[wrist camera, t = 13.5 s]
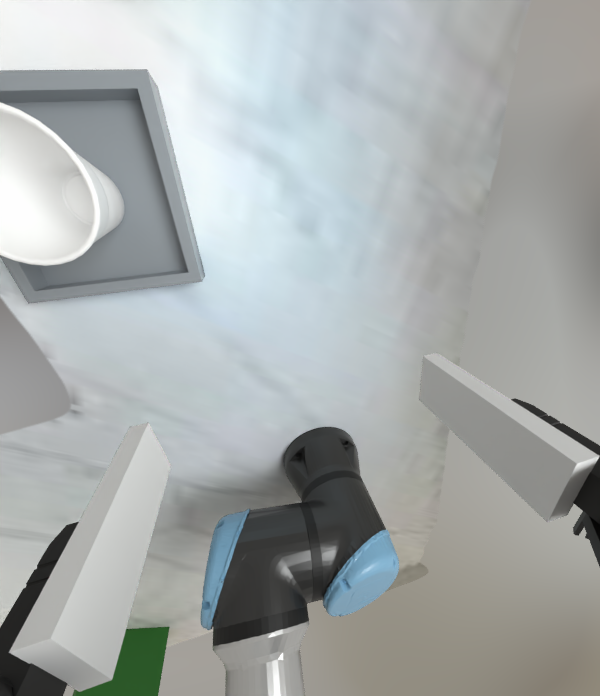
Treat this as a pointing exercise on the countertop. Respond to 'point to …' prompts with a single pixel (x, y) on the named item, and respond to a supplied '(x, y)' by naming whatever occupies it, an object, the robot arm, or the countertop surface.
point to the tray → (123, 169)
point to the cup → (49, 195)
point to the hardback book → (135, 665)
